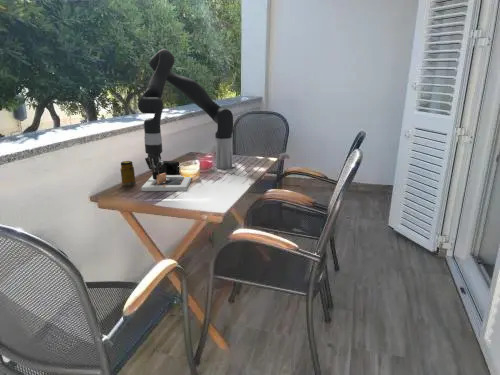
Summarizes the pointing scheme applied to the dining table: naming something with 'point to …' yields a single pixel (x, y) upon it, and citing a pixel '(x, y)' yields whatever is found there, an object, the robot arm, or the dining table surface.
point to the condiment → (127, 173)
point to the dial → (166, 180)
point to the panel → (151, 187)
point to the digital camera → (170, 167)
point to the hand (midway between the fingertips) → (155, 179)
